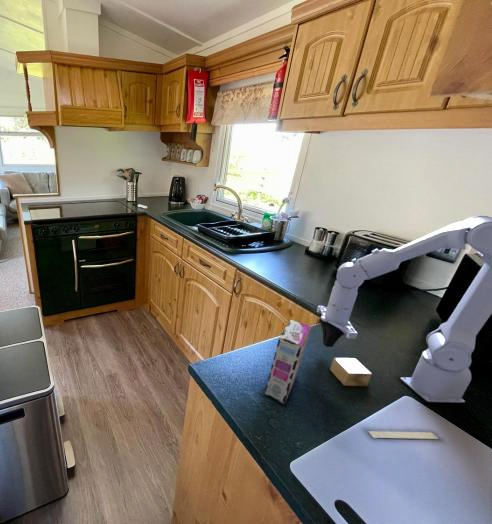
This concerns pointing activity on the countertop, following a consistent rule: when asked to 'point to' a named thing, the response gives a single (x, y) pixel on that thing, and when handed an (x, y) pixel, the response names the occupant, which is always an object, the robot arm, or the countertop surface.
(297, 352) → the candy bar box
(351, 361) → the maple block
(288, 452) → the countertop surface
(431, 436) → the tape line
